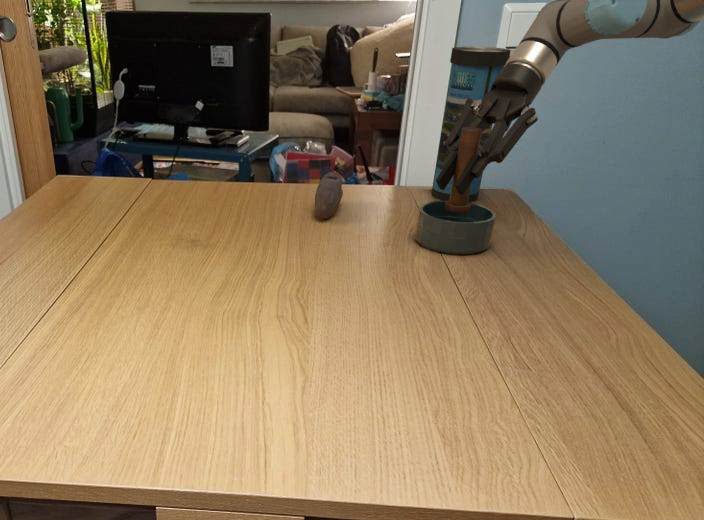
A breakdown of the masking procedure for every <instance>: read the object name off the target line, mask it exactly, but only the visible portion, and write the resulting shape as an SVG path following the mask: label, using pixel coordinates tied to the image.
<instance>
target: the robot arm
mask: <svg viewBox="0 0 704 520" xmlns="http://www.w3.org/2000/svg"><path fill="white" fill-rule="evenodd" d="M702 20H704V0H547V2H546V3H545V4H544V6H542V7H541V9H540V10H539V11H538V13H537V15H536V17H535V19H534V20H533V21H532V23H531V25H530V26H529V27H528V30H527V31H526V33H525V34H524V36H523V37H522V39H521V40H520V41H519V43H518V45H517V46H516V47H515V49H514V50H513V52H511V54H510V56H509V59H508V61H507V62H506V64H505V66H504V68H503V69H502V70H501V72H500V73H499V75H498V76H497V78H496V79H495V81H494V82H493V84H492V87H491V89H490V91H489V93H487V94H486V95H485V96H484V97H483V98H482V99H481V100H477V101H473V100H472V99H471V98H469V99H467V100H466V102H465V108H464V110H463V112H462V114H461V116H460V117H459V119H458V121H457V123H456V124H455V126H454V128H453V129H452V131H451V133H450V135H449V136H448V138H447V140H446V142H445V143H446V145H447V147H448V149H449V152H450V153H449V155H448V156H447V158H446V159H445V161H444V162H443V167H444V168H443V170H442V171H441V173H440V174H439V176H438V177H437V179H436V182H437V184H438V186H439V188H440V189H441V190H444V189H445V187H446V186H447V184H448V183H449V181H450V180H451V178H452V177H453V175H454V172H455V166H456V160H457V155H458V149H459V144H460V138H461V132H462V128H463V127H477V128H481V129H482V132H483V131H484V130H485V129H488V128H489V127H490V126H491V125H492V124H493V125H492V130H491V133H490V135H489V137H488V139H487V141H486V143H485V145H484V148H483V150H482V152H481V150H480V153H481V156H480V155H479V154H475V155H474V157H473V158H472V160H471V161H470V163H469V164H468V166H467V167H466V169H465V170H464V172H463V173H462V175H461V176H460V178H459V179H458V181H457V182H456V184H455V187H456V189H457V191H458V193H459V194H460V195H463V194H464V193H465V191H466V190H467V188H468V187H469V185H470V184H471V182H472V181H473V179H474V178H478V177H480V175H481V174H482V172H483V173H484V171H485V169H486V168H487V166H488V165H490V164H491V163H495V162H496V164H501V163H503V161H504V160H506V158H507V156H508V155H509V154H510V153H511V151H512V150H513V148H514V147H515V146H516V144H518V142H519V141H520V139H521V138H522V137H523V135H524V134H525V133H526V131H527V130H528V129H530V128H531V127H532V126H533V125H534V124H535V123H537V122H538V120H539V118H538V115H537V112H536V108H534V107H530V106H531V104H532V103H533V102H534V100H535V99H536V97H537V96H538V94H539V93H540V91H541V90H542V87H543V86H544V85H545V84H546V82H547V80H548V79H549V77H550V76H551V74H552V73H553V71H554V70H555V68H556V67H557V65H559V63H560V61H561V59H562V58H563V57H564V55H565V54H566V53H567V52H568V51H569V50H571V49H575V48H578V47H581V46H583V45H586V44H589V43H593V42H596V41H600V40H618V39H663V40H664V39H670V38H673V37H681V36H684V35H687V34H688V33H690V32H692V31H694V29H695V28H696V26H698V25H699V23H700V22H701V21H702ZM480 108H482V110H481V111H480V112H479V113H478V111H479V109H480ZM476 114H477V118H476V119H475V120H474V122H473V123H472V121H473V119H474V117H475V115H476ZM512 122H514V123H513V124H512ZM471 123H472V124H471ZM511 124H512V125H511ZM510 126H511V127H510ZM482 132H481V133H482Z"/></svg>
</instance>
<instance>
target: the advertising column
mask: <svg viewBox="0 0 704 520" xmlns="http://www.w3.org/2000/svg"><path fill="white" fill-rule="evenodd" d="M511 51H512V50H511V49H508V48H505V47H496V46H495V47H494V46H493V47H491V46H455V47H451V54H450V61H449V62H450V63H451V64H452V65H451V66H452V67H451V71H450V72H451V73H450V79H449V84H448V91H447V95H446V96H447V97H446V103H445V109H444V115H443V121H442V127H441V133H440V139H439V146H438V150H437V156H436V164H435V169H434V176H433V182H432V188H431V196H432V197H433V198H435V199H437V200H439V201H447V200H449V199H450V194H451V188H452V183H453V177H454V175H453V177H452V178H451V180H450V181H449V183H448V184H447V186H446V187H445V189H444V190H441V189H440V188H439V186H438V184H437V182H436V179H437V177H438V176H439V174H440V173H441V171H442V170H443V168H444V167H443V162H444V161H445V159H446V158H447V156H448V155H449V153H450V152H449V149H448V147H447V145H446V143H445V142H446V140H447V138H448V136H449V135H450V133H451V131H452V129H453V128H454V126H455V124H456V123H457V121H458V119H459V117H460V116H461V114H462V112H463V110H464V108H465V102H466V100H467V99H469V98H471V99H472V100H473V101H477V100H481V99H482V98H483V97H484V96H485V95H486V94H487V93H489V91H490V89H491V87H492V84H493V82H494V81H495V79H496V78H497V76H498V75H499V73H500V72H501V70H502V69H503V68H504V67H505V64H506V62H507V61H508V59H509V58H510V56H511ZM481 110H482V108H480V109H479V111H478V113H479V112H480V111H481ZM476 118H477V114H476V115H475V117H474V119H473V121H472V123H473V122H474V120H475V119H476ZM472 123H471V124H472ZM493 126H494V124H492V125H491V126H490V127H489V128H488V129H485V130H484V131H483V132H482V133H481V137H480V143H479V148H478V153H477V154H479V155H480V156H481V153H480V150H481V152H482V150H483V148H484V145H485V143H486V141H487V139H488V137H489V135H490V133H491V131H492V129H493ZM483 174H484V171H483V172H482V174H481V175H480V177H478V178H474V179H473V181H472V184H471V189H470V194H469V199H468V202H470V203H473V202H476V201H477V200H478V198H479V194H480V189H481V188H480V187H481V184H482V178H483Z"/></svg>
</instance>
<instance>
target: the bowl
mask: <svg viewBox="0 0 704 520" xmlns="http://www.w3.org/2000/svg"><path fill="white" fill-rule="evenodd" d="M445 202H446V201H443V200H434V201H427V202H425V203H423V204H421V205H420V206H419V207H418V214H417V219H416V226H415V233H414V239H415V240H416V242H418V243H419V245H421V246H422V247H424V248H426V249H428V250H431V251H434V252H436V253H442V254H446V255H447V254H448V255H459V256H461V255H463V256H464V255H465V256H466V255H474V254H479V253H481V252H483V251H484V250H486V249H488V248H489V247H490V245H491V241H492V237H493V233H494V228H495V224H496V219H497V214H496V212H495V211H493V209H490V208H489V207H487V206H483V205H481V204H477V203H473V202H470V203H471V208H470V211H469V212H466V213H455V212H450V211H447V210H446V209H445Z"/></svg>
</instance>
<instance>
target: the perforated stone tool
mask: <svg viewBox="0 0 704 520" xmlns="http://www.w3.org/2000/svg"><path fill="white" fill-rule="evenodd" d="M342 186H343V178H342V176H341V174H340V173H339V172H337V171H336V172H335V171H329V172H328V173H326V174H325V175H323V177H322V178H321V180H320V181H319V183H318V185H317V186H316V187H317V188H316V191H315V194H314V208H315V212H316V214H317V216H318V217H319V218H320V219H327V218H330V217H331V216H332V215H333V214H334V213H335V212H336V210H337V209H338V207H339V206H340V203H341V201H342V198H343V196H344V191H343V187H342Z"/></svg>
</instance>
